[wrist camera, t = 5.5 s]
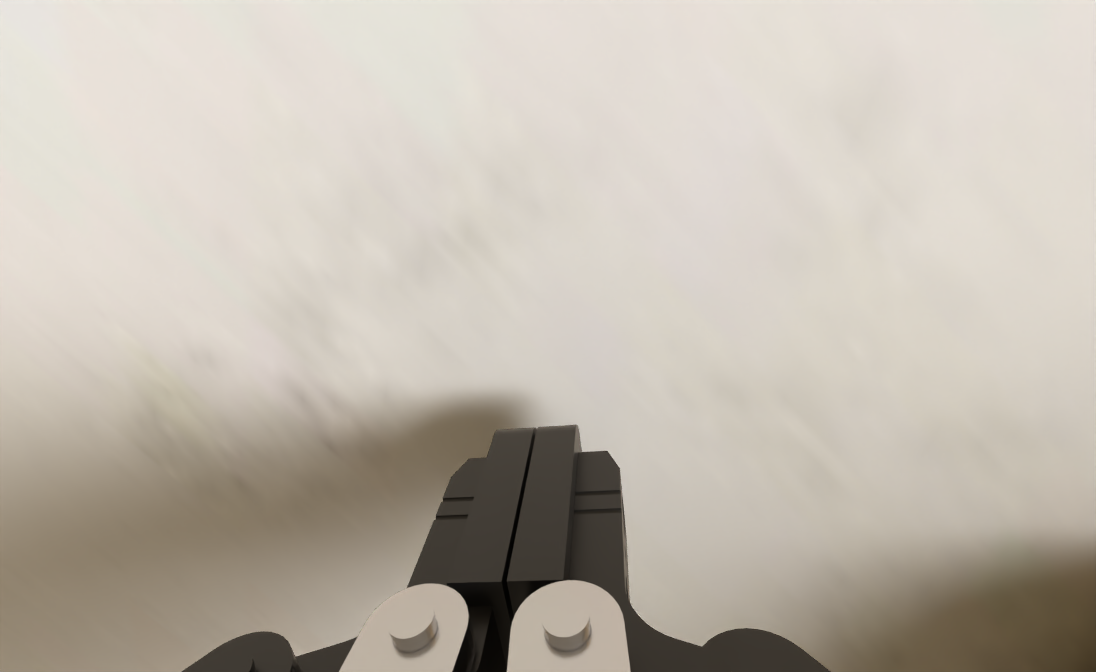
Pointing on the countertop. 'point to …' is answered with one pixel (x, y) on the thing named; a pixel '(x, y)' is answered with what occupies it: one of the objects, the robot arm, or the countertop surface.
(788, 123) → the countertop surface
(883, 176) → the countertop surface
